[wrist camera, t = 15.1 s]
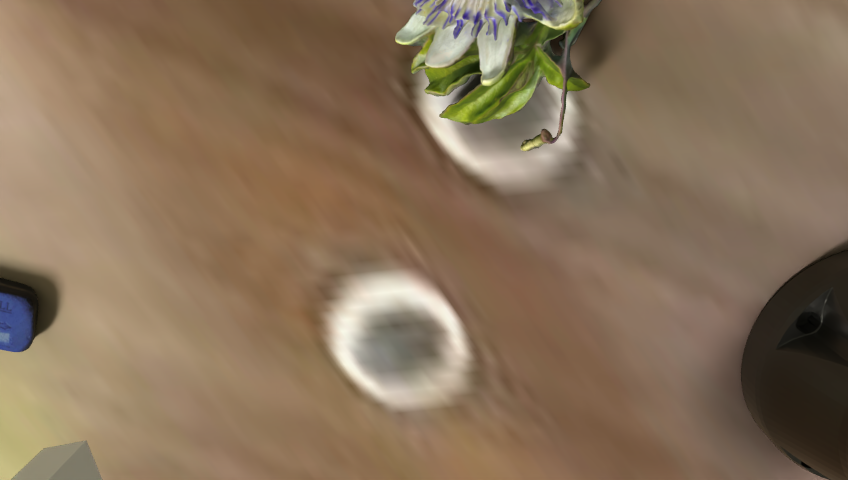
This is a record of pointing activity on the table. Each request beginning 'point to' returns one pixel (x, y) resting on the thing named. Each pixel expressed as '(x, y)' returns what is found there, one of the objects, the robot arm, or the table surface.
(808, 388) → the robot arm
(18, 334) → the eraser
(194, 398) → the table surface
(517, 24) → the passion flower
